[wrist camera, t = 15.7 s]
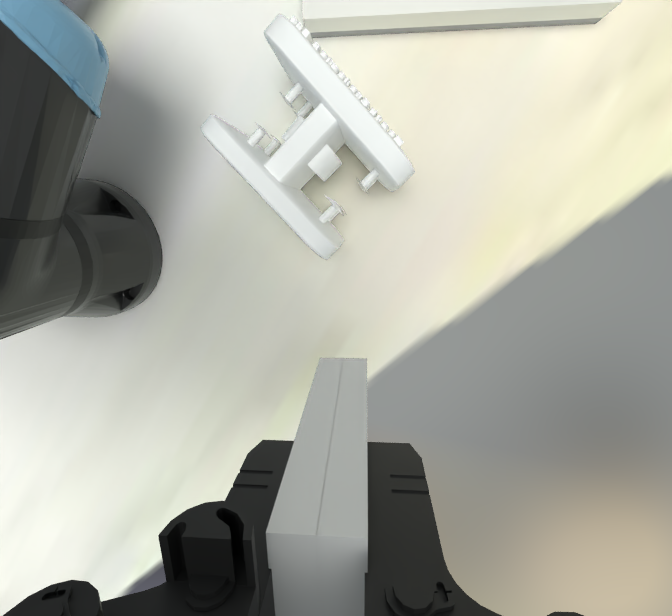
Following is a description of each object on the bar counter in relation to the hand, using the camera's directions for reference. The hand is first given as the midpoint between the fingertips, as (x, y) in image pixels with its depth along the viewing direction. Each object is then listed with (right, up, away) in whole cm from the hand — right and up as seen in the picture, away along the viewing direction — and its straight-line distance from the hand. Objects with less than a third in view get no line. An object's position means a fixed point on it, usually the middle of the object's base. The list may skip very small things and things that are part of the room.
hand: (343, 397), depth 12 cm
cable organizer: (-2, +18, +26) cm, 32 cm away
